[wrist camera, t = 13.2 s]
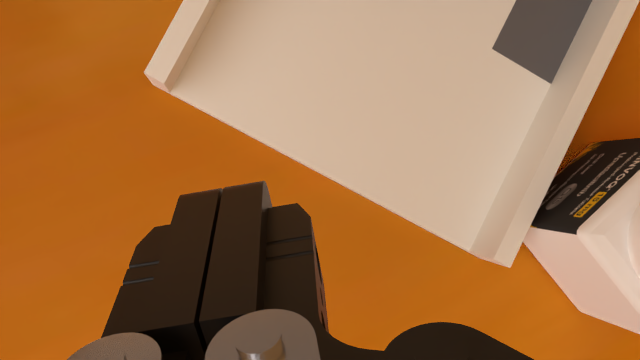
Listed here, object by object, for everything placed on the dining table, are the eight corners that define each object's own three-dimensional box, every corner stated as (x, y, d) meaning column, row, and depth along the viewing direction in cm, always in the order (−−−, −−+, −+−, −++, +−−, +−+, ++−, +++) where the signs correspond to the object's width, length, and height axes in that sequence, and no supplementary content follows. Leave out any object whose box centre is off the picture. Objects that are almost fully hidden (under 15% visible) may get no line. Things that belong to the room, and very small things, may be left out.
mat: (486, 51, 33) (492, 48, 33) (533, -41, 34) (539, -45, 33) (545, 85, 34) (551, 84, 33) (590, -6, 34) (596, -9, 34)
